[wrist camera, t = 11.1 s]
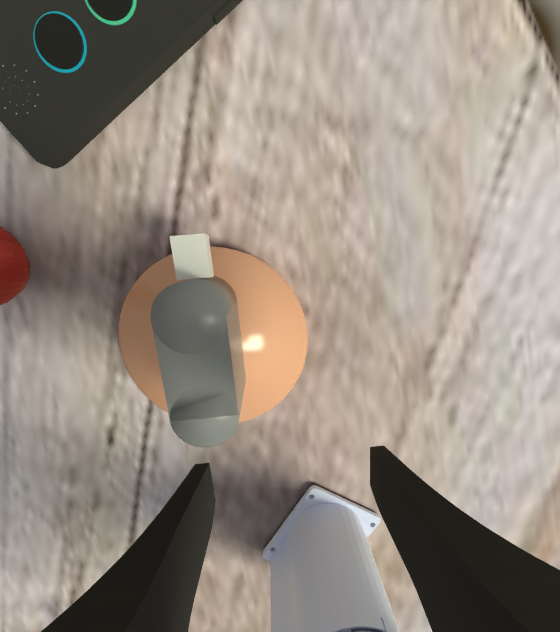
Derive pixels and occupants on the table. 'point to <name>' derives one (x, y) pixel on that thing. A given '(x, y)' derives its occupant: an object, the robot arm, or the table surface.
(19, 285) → the onion
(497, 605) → the robot arm
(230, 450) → the table surface
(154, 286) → the plate
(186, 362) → the connector
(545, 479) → the table surface
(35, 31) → the smart home device
